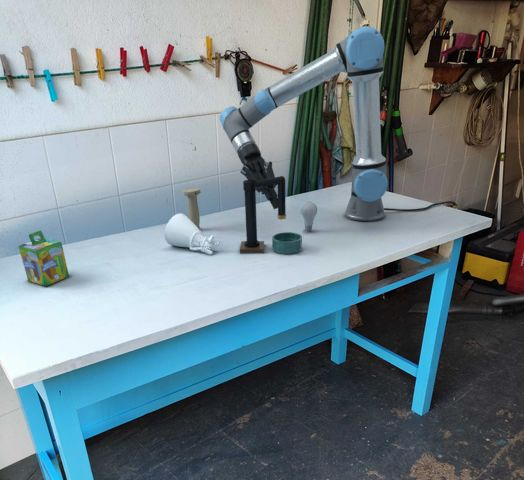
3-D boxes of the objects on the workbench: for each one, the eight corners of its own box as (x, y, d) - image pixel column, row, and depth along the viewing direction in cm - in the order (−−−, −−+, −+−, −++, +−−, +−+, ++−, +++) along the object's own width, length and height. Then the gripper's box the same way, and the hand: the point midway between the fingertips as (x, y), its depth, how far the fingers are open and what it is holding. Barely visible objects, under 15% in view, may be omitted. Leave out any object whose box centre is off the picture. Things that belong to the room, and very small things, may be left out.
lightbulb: (298, 233, 193) (298, 203, 187) (303, 228, 198) (303, 199, 192) (313, 234, 191) (314, 204, 185) (318, 229, 196) (319, 200, 190)
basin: (301, 244, 183) (301, 232, 180) (302, 254, 174) (302, 241, 172) (272, 244, 183) (272, 232, 181) (272, 255, 174) (271, 242, 172)
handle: (205, 229, 200) (202, 189, 192) (192, 233, 196) (188, 192, 189) (198, 226, 203) (194, 187, 195) (184, 230, 200) (180, 190, 192)
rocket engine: (219, 226, 171) (178, 206, 178) (200, 254, 170) (159, 234, 177) (230, 243, 182) (191, 224, 189) (212, 270, 181) (174, 250, 187)
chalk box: (46, 287, 157) (33, 239, 149) (26, 281, 161) (13, 235, 153) (70, 276, 163) (59, 230, 156) (51, 271, 168) (40, 226, 160)
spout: (248, 226, 173) (246, 183, 166) (242, 223, 176) (240, 180, 169) (288, 218, 179) (288, 176, 172) (282, 215, 182) (281, 174, 175)
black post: (264, 245, 183) (262, 187, 173) (263, 253, 176) (261, 193, 166) (241, 245, 184) (238, 187, 173) (239, 253, 177) (236, 193, 166)
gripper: (257, 153, 190) (286, 208, 187) (227, 158, 183) (257, 216, 180) (265, 139, 183) (296, 196, 180) (235, 144, 177) (267, 204, 174)
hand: (277, 206), depth 180 cm, fingers closed
